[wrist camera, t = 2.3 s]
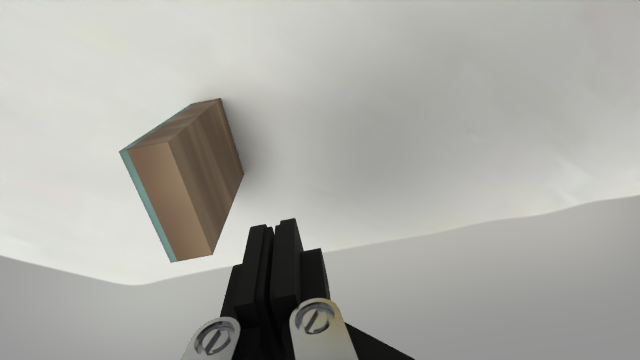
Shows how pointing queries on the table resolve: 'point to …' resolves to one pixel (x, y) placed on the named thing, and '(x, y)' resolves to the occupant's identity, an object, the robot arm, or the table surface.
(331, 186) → the table surface
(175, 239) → the walnut slab
